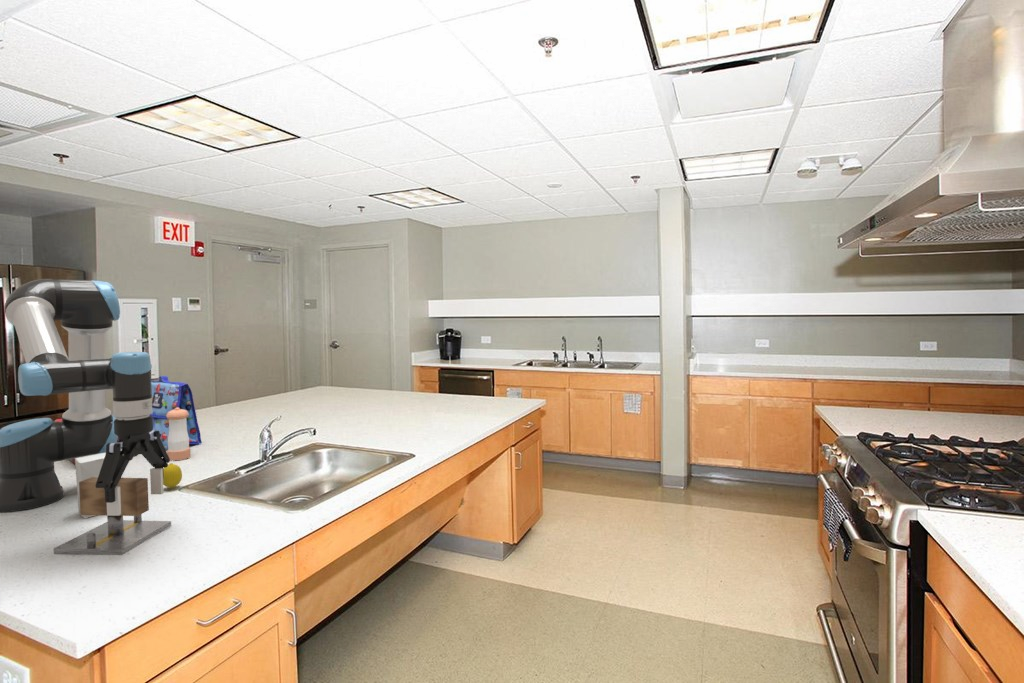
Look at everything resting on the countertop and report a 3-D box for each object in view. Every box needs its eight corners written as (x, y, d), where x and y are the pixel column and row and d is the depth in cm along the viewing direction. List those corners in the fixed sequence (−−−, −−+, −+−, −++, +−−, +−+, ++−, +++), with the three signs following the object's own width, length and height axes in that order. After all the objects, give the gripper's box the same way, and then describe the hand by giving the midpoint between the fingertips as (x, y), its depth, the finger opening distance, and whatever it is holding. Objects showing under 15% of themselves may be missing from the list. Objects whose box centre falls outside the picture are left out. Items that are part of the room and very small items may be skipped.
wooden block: (80, 515, 123) (79, 482, 122) (93, 509, 127) (91, 477, 126) (137, 516, 122) (136, 483, 122) (148, 510, 126) (147, 478, 126)
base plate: (53, 553, 117) (52, 526, 117) (110, 524, 133) (109, 501, 133) (122, 555, 117) (121, 528, 116) (171, 525, 133) (170, 502, 132)
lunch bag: (132, 447, 208) (129, 376, 206) (163, 439, 221) (161, 372, 219) (173, 451, 202) (170, 378, 200) (203, 443, 215) (201, 374, 213)
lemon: (158, 492, 157) (157, 466, 156) (165, 486, 162) (164, 461, 162) (178, 490, 158) (178, 465, 158) (185, 484, 164) (184, 460, 163)
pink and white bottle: (195, 455, 196) (193, 406, 195) (180, 461, 189) (179, 409, 188) (177, 455, 197) (175, 405, 196) (162, 460, 190) (160, 409, 188)
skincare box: (114, 504, 147) (112, 450, 146) (121, 510, 143) (119, 455, 142) (76, 513, 140) (74, 457, 139) (82, 519, 136) (79, 461, 135)
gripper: (105, 428, 110) (109, 525, 112) (183, 407, 135) (186, 486, 137) (71, 428, 111) (76, 524, 112) (156, 406, 136) (158, 486, 137)
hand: (136, 504), depth 124 cm, fingers open, 13 cm apart
